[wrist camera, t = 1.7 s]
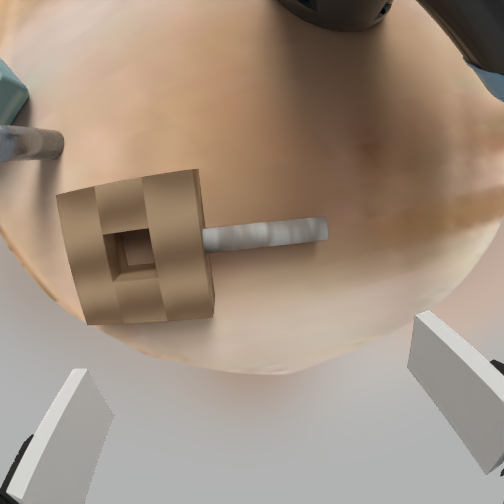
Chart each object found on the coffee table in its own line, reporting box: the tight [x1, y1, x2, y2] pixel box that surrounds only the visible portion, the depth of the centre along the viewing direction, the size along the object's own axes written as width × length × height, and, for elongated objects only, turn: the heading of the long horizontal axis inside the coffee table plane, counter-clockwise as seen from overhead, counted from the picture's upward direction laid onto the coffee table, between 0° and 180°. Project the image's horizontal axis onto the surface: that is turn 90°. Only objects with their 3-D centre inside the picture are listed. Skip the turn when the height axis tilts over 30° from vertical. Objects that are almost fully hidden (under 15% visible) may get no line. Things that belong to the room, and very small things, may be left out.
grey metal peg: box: [0, 124, 64, 162], centre depth 21 cm, size 3×3×13 cm
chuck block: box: [56, 169, 329, 325], centre depth 29 cm, size 14×26×5 cm, turn 95°
